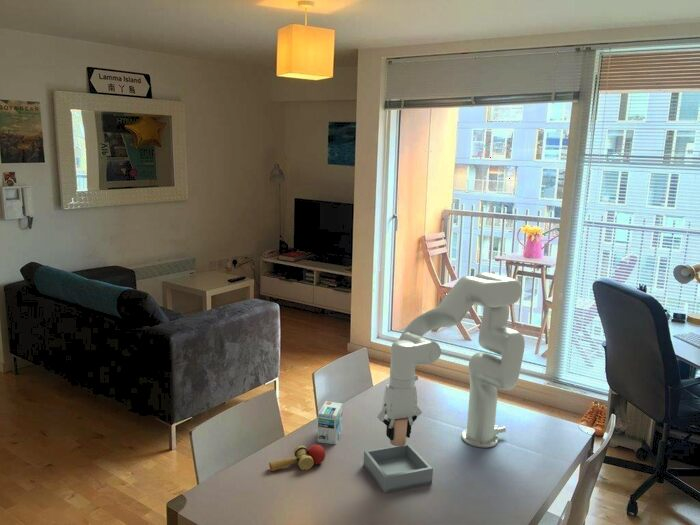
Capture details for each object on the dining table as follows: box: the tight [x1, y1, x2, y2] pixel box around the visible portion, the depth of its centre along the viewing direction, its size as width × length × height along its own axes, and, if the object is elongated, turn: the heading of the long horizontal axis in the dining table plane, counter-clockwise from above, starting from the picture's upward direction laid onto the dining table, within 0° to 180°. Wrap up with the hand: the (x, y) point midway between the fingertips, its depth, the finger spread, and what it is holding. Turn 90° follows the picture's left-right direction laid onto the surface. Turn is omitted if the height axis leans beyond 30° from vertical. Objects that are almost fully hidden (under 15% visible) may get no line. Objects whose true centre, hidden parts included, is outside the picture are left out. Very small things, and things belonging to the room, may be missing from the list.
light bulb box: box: [317, 400, 344, 445], centre depth 199 cm, size 11×7×11 cm, turn 168°
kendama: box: [268, 444, 326, 472], centre depth 180 cm, size 8×6×18 cm
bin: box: [363, 442, 434, 494], centre depth 177 cm, size 16×16×5 cm
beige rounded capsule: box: [389, 417, 408, 446], centre depth 175 cm, size 5×5×8 cm
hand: (398, 436), depth 175 cm, fingers closed on beige rounded capsule, 5 cm apart
